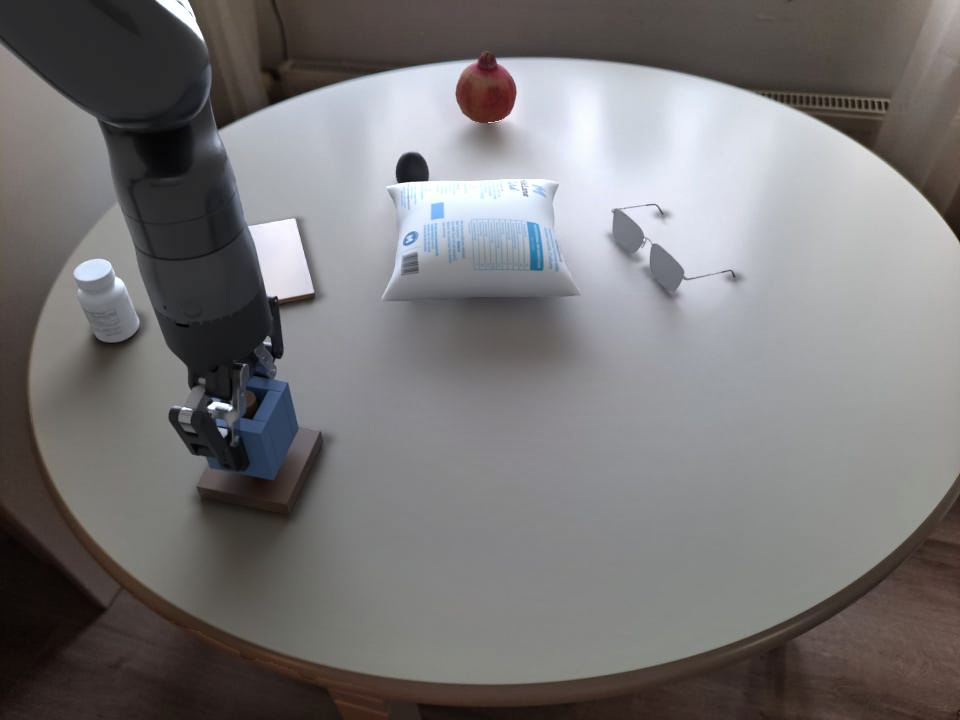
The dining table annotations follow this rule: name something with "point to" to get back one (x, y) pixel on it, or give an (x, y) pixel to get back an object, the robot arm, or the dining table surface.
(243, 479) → the dowel stand
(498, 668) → the dining table surface
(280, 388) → the blue pencil cup
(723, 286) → the dining table surface
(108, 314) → the pill bottle
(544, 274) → the pouch
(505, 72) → the fruit
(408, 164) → the black rounded dome
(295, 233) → the wooden board
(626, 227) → the eyeglasses
